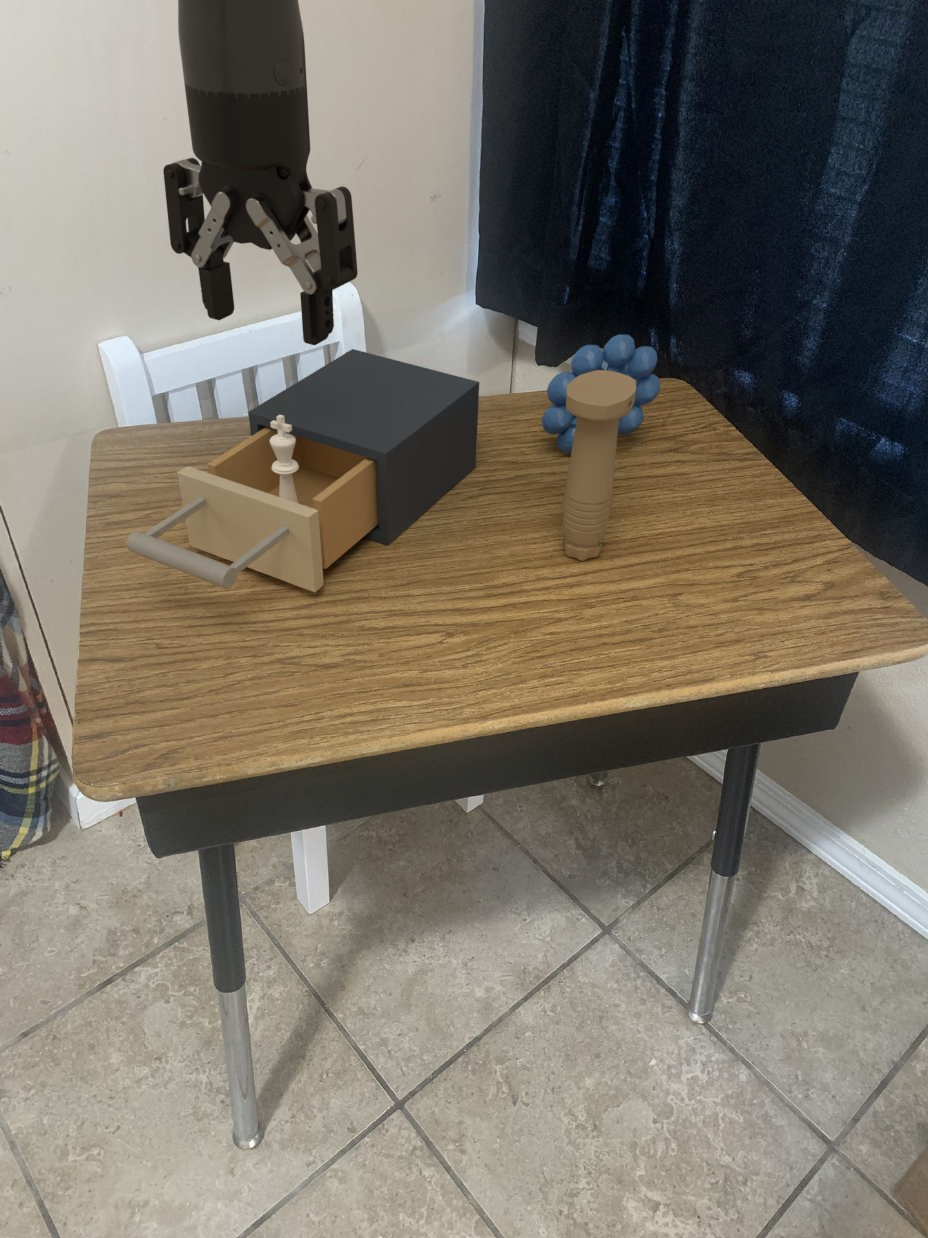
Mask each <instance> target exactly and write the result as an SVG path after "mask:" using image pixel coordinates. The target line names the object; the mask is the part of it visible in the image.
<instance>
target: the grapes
mask: <svg viewBox="0 0 928 1238" xmlns="http://www.w3.org/2000/svg"><path fill="white" fill-rule="evenodd" d="M657 363H658V353H657V351H656V349H654V348H653V347H652V346H649V345H643V346H639V347H637V348H636V346H635V339H634V338H633V337H632V336H631V335H629V334H623V333H621V334H620V333H619V334H617V335H615V336H612V337H611V338H610V339H609V340H608V341H607V342H606V343H605V345H604V347H603V349H602V348H601V347H600V346H598V344H586V345H584V346H582V347H580V348H579V349H578V350H577V351H576V352H575V353H574V354H573V356H572V359H571V361H570V366H571V372H569V371H562V372H559V373H557V374H556V375H555V376H554V377H553V378H552V379H551V380H550V381H549V383H548V385H547V389H546V392H547V398H548V400H549V401H550V402H551V403H552V404H551V405H550V406H549V407H548V408H547V409H546V410H545V411H544V413H543V414H542V418H541V424H542V429H543V430H544V432H546V433H547V434H549V435H557V437H556V444H557V448H558V449H559V450H560V451H561V452H562V453H566V454H571V452H572V446H573V440H574V433H575V427H576V419H577V417H575V416H574V415H572V414H571V413H570V412H569V411H567V410H566V393H567V386H568V384H569V383H570V382H571V381H572V380H573V379H575V378H576V377H577V376H579V375H582V374H585V373H588V372H592V371H596V370H606V371H613V372H617V373H621V374H624V375H627V376H629V377H631V378H633V379H634V380H635V381H636V394H635V401H634V404H633V406H632V408H631V411H630V412H629V414H628V415H626V416H624V417H622V418H620V419H619V425H618V434H617V435H624V436H625V435H629V434H632V433H634V432H635V431H637V430H638V428H640V426H642V423H643V421H644V418H645V417H644V409H643V407H642V406H646V405H649V404H651V403H652V402H653V401H654V400H655V399H657V397H658V396H659V393H660V391H661V381H660V378H659V377H658V376H657V375H656V374H653V371H654V370H655V368H656V366H657Z"/></svg>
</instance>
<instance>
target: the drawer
mask: <svg viewBox="0 0 928 1238" xmlns="http://www.w3.org/2000/svg"><path fill="white" fill-rule="evenodd" d="M276 434H278V430H276V429H273V428H269V427H265V428H264V429H262V430H260V431H259V432H257V433H256V434H254V435H252V436H251V435H250V436H249V437H248V438H246V439H244V440H243V441H241V442H240V443H238V444H237V445H235V446H234V447H232V448H230V449H228V450H226V451H225V452H224V453H222V454H221V455H219V456H218V457H215V459H213V460H212V461H210V462H207V470H208V472H206V471H203V470H200V469H197V468H194V467H191V466H188V465H186V466H184V467H183V468H182V469H180V470H179V471H177V472H176V475H177V479H178V486H179V492H180V499H181V503H182V507H181V509H179V510H177V511H176V512H174V513H172V514H171V515H170V516H168V517H166V518H165V519H163V520H162V521H161V522H159V523H158V524H156V525H155V526H153V527H151V528H150V529H149V530H147V531H146V532H141V531H137V530H136V531H133V532H131V533H130V534H129V535H128V537H127V539H126V549H127V550H128V551H129V552H131V553H133V554H135V555H138V556H141V557H143V558H146V559H148V560H150V561H153V562H156V563H158V564H161V565H163V566H166V567H169V568H171V569H174V570H176V571H178V572H182V573H184V574H187V575H189V576H192V577H194V578H197V579H200V580H202V581H205V582H207V583H209V584H213V585H215V586H217V587H221V588H222V589H226V590H230V589H231V588H233V587H234V586H235V584H236V582H237V580H238V575H239V574H240V573H242V571H243V570H245V569H247V568H249V569H251V570H254V571H257V572H258V573H261V574H265V575H267V576H270V577H273V578H276V579H278V580H281V581H283V582H286V583H288V584H290V585H294V586H296V587H299V588H302V589H304V590H306V591H310V592H313V593H316V592H317V591H318V590H320V589H321V588H322V587H323V586H324V585H325V583H324V570H327V569H328V568H329V567H331V565H333V564H334V563H335V562H336V561H337V560H338V559H339V558H340V557H342V556H343V555H344V554H345V553H346V552H347V551H349V550H350V549H351V548H352V547H354V546H355V545H356V544H357V543H358V542H359V541H361V540H362V539H363V538H365V537H364V536H365V535H366V534H367V533H368V532H370V531H371V530H372V529H373V528H374V527H375V526H377V525H378V524H379V504H378V469H377V460H374V459H370V458H367V457H364V456H361V455H357V454H354V453H351V452H348V451H344V450H341V449H338V448H334V447H331V446H328V445H325V444H321V443H318V442H315V441H312V440H308V439H305V438H302V437H299V436H295V435H292V434H290V435H292V436H294V437H295V439H296V443H295V447H294V449H293V455H292V458H291V459H292V460H295V461H296V462H297V463H298V465H299V469H298V470H297V471H296V472H294V473H292V476H293V481H294V486H295V490H296V495H297V499H298V502H299V504H298V503H295V502H292V501H289V500H286V499H283V498H281V497H279V489H280V474H277V473H275V472H273V471H272V464H273V463H274V462H275V461H277V460H278V459H277V457H276V455H275V453H274V450H273V449H272V447H271V445H270V438H271V437H272V436H274V435H276ZM287 434H289V433H287ZM304 505H305V506H304ZM307 506H308V507H307ZM184 520H185V527H186V533H187V538H188V543H189V546H191V547H193V548H195V549H198V550H201V551H203V552H206V553H208V554H211V555H214V556H216V557H219V558H222V559H225V560H227V561H229V562H233V563H231V564H229V565H228V564H226V563H223V562H221V561H219V560H215V559H213V558H210V557H207V556H204V555H202V554H199V553H197V552H194V551H191V550H189V549H186V548H184V547H181V546H178V545H176V544H173V543H170V542H168V541H165V540H163V539H159V537H161V536H162V535H164V534H165V533H167V532H168V531H170V530H171V529H173V528H174V527H176V526H177V525H179V524H180V523H182V522H183V521H184ZM323 569H324V570H323Z"/></svg>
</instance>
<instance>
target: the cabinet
mask: <svg viewBox="0 0 928 1238" xmlns="http://www.w3.org/2000/svg"><path fill="white" fill-rule="evenodd" d="M479 391H480V381H477V380H473V379H469V378H466V377H462V376H458V375H454V374H451V373H447V372H443V371H438V370H435V369H431V368H428V367H424V366H418V365H415V364H412V363H408V362H405V361H400V360H397V359H393V358H389V357H385V356H382V355H378V354H373V353H369V352H365V351H362V350H358V349H354V348H351V349H350V350H348V351H347V352H345V353H343V354H341V355H340V356H338V357H337V358H335V359H333V360H332V361H330V362H328V363H327V364H325V365H324V366H322V367H320V368H318V369H317V370H315V371H313V372H312V373H310V374H309V375H307V376H305V377H303V378H301V379H300V380H298V381H297V382H296V383H293V384H292V385H290V386H289V387H287V388H285V389H283V390H282V391H280V392H279V393H277V394H275V395H274V396H272V397H270V398H269V399H267V400H266V401H264V402H262V403H260V404H259V405H257V406H255V407H254V408H252V409H251V410H249V411H248V412H247V415H248V421H249V422H248V423H249V431H250V432H249V433H250V437H251V436H252V435H254V434H256V433H257V432H259V431H260V430H262V429H264V428H265V427H269V428H271V425H270V422H272V421H273V420H275V421H277V419H276V417H277V416H278V415H283V416H284V419H285V423H286V424H289V425H292V431H290V432H286V433H289V434H292V435H295V436H299V437H302V438H305V439H308V440H312V441H315V442H318V443H321V444H325V445H328V446H331V447H334V448H338V449H341V450H344V451H348V452H351V453H354V454H357V455H361V456H364V457H367V458H370V459H374V460H377V469H378V504H379V524H378V525H377V526H375V527H374V528H373V529H372V530H371V531H370V532H368V533H367V534H366V535H365V536H364V537H363V538H364V539H365V538H366V539H368V540H371V541H374V542H376V543H379V544H382V545H385V546H390V544H392V543H393V542H394V541H395V540H396V539H397V538H398V537H400V535H402V534H403V533H404V532H405V531H407V529H408V528H410V527H411V526H412V525H413V524H414V523H415V522H416V521H417V520H418V519H419V518H421V517H422V516H423V515H424V514H425V513H427V512H428V511H429V510H430V509H432V507H433V506H435V504H437V502H438V501H440V500H441V499H442V498H443V497H444V496H446V494H447V493H449V492H450V491H451V490H452V489H453V488H454V487H455V486H457V485H458V484H459V483H460V482H462V480H463V479H464V478H465V477H467V476H468V475H469V474H470V473H472V471H473V470H475V469H476V467H477V449H478V447H477V445H478V444H477V443H478V422H479V400H480V392H479ZM273 429H274V428H273ZM276 430H278V429H276Z"/></svg>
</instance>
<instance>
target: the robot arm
mask: <svg viewBox="0 0 928 1238" xmlns="http://www.w3.org/2000/svg"><path fill="white" fill-rule="evenodd" d="M299 3H300V2H299V0H177V4H178V5H177V9H178V10H177V15H178V16H177V28H178V32H177V33H178V42H179V51H180V58H181V67H182V75H183V83H184V91H185V100H186V107H187V114H188V115H187V117H188V123H189V132H190V140H191V150H192V152H193V154H194V156H195V157H196V158H195V157H189V158H185V159H180V160H177V161H174V162H172V163H169V164H166V165H164V167H163V172H162V173H163V181H164V193H165V201H166V211H167V212H166V214H167V222H168V233H169V242H170V247H171V249H172V250H173V252H174V253H176V254H177V255H182V254H185V255H186V256H188V257H189V258H190V259H191V261H192V263H193V264H194V266H195V267H197V269H198V277H199V285H200V288H201V289H200V292H201V299H202V304H203V306H204V308H205V309H206V311H207V312H206V314H207V316H208V318H209V319H212V320H216V321H221V320H224V319H225V318H227V317H229V316H231V315H233V314H234V312H235V301H234V300H235V299H234V291H233V283H232V274H231V264H230V262H228V261H224V259H225V258H226V257H227V256H228V254H229V252H230V250H231V248H232V247H233V245H234V243H237V244H241V245H243V244H253V246H256V247H257V248H260V249H264V250H268V251H271V250H273V252H274V253H275V255H276V257H277V258H278V261H279V262H280V263H281V264H282V266H285V267H288V268H289V269H290V271H291V273H292V274H293V276H294V278H295V279H296V281H297V282H298V284H299V285H300V287H301V289H302V292H300V293H299V294H300V296H299V297H300V309H301V311H300V312H301V323H302V324H301V326H302V339H303V342H304V343H305V344H307V345H308V344H309V345H311V346H317V345H318V344H320V343H322V342H323V341H326V340H327V339H328V338H329V335H330V334H332V333H333V330H334V328H335V320H334V317H335V316H334V297H333V296H334V295H333V291H334V290H336V289H338V288H340V287H342V286H344V285H346V284H348V283H351V282H352V281H354V280H355V279H356V278H357V277H358V272H359V271H358V261H357V259H358V258H357V249H356V236H355V235H356V233H355V223H354V209H353V197H352V193H351V191H350V190H349V189H348V188H347V187H346V186H344V185H343V186H339V187H335V188H334V189H330V190H329V189H319V188H313V186H312V184H311V182H310V179H309V177H308V172H307V165H308V161H309V156H310V153H311V139H310V138H311V135H310V134H311V133H310V118H309V99H308V83H307V63H306V48H305V47H306V46H305V45H306V43H305V34H304V26H303V21H302V16H301V10H300V4H299ZM198 160H199V161H200V162H201V164H200V162H199V161H198ZM204 197H205V199H206V201H207V202H208V204H209V205H210V209H209V211H208V213H207V215H205V205H204V204H205V202H204ZM309 212H311V215H312V216H311V218H309V217H308V214H309ZM205 216H206V217H205ZM313 224H314V225H316V228H315V227H314V225H313ZM187 229H188V230H187ZM295 236H297V237H298V240H299V241H300V242H299V243H297V244H295V243H293V242H292V240H293V239H294V238H295Z"/></svg>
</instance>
